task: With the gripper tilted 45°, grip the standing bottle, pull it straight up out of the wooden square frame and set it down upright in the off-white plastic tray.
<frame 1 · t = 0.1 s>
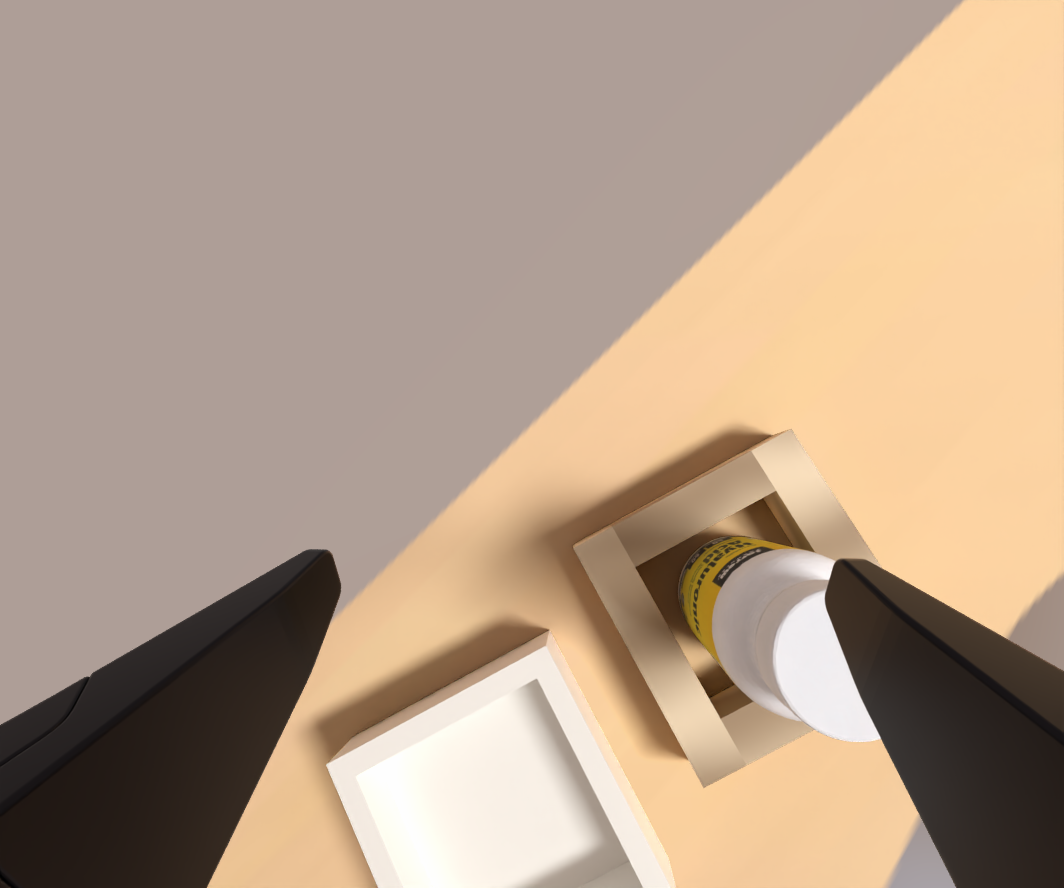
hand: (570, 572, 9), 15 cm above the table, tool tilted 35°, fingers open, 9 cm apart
supplement bottle: (732, 592, 22), resting in wooden square frame
wooden square frame: (733, 593, 22), on the table
plastic tray: (503, 794, 22), on the table
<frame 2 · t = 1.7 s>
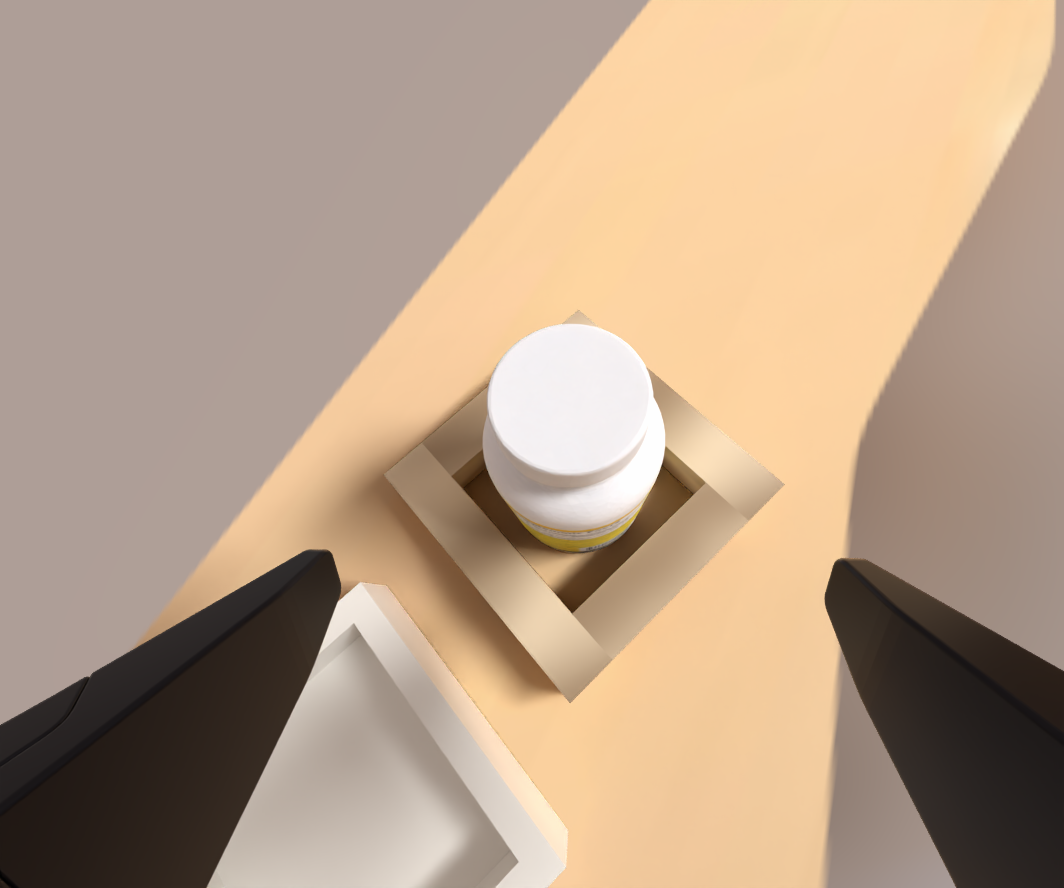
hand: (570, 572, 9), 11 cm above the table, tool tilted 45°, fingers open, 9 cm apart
supplement bottle: (575, 492, 20), resting in wooden square frame
wooden square frame: (575, 491, 20), on the table
plastic tray: (354, 808, 17), on the table
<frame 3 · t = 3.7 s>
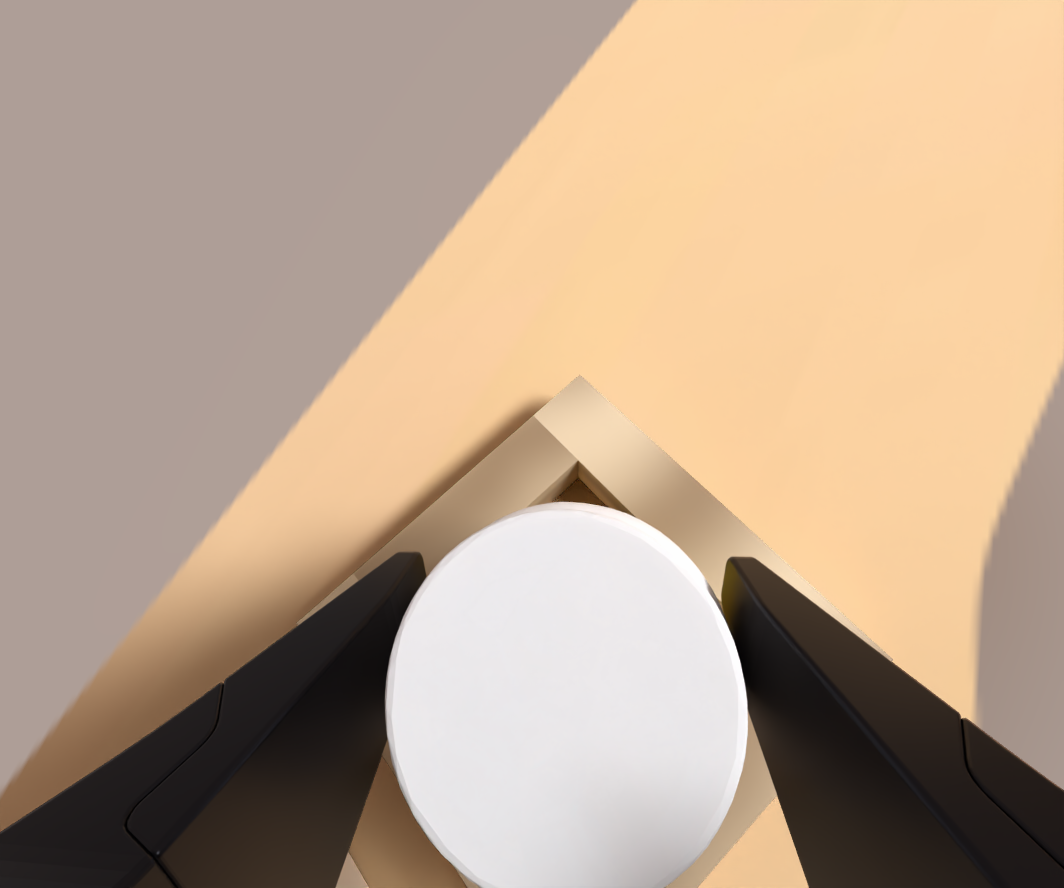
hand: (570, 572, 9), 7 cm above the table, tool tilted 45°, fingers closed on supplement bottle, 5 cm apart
supplement bottle: (575, 635, 14), resting in wooden square frame, touching gripper
wooden square frame: (575, 635, 14), on the table
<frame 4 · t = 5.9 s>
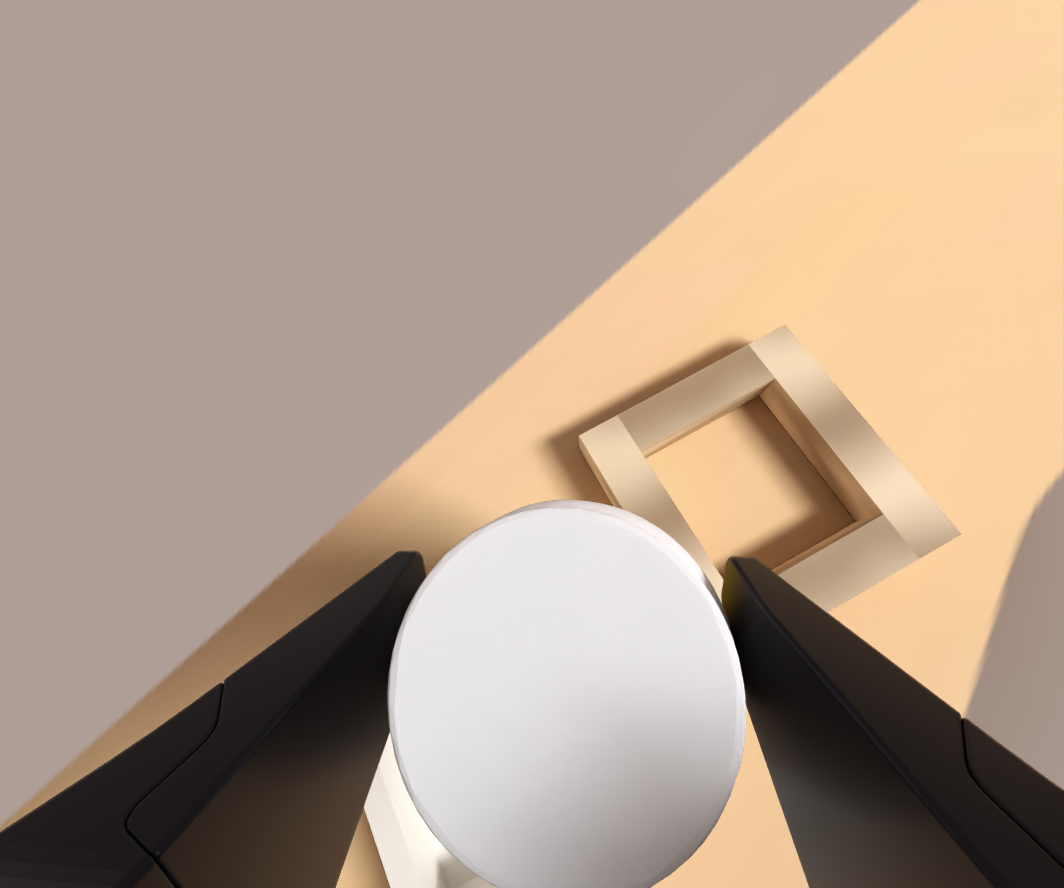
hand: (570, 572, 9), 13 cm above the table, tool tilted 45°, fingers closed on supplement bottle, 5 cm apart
supplement bottle: (577, 632, 15), point 7 cm above the table, touching gripper
wooden square frame: (741, 491, 22), on the table
plastic tray: (503, 708, 20), on the table
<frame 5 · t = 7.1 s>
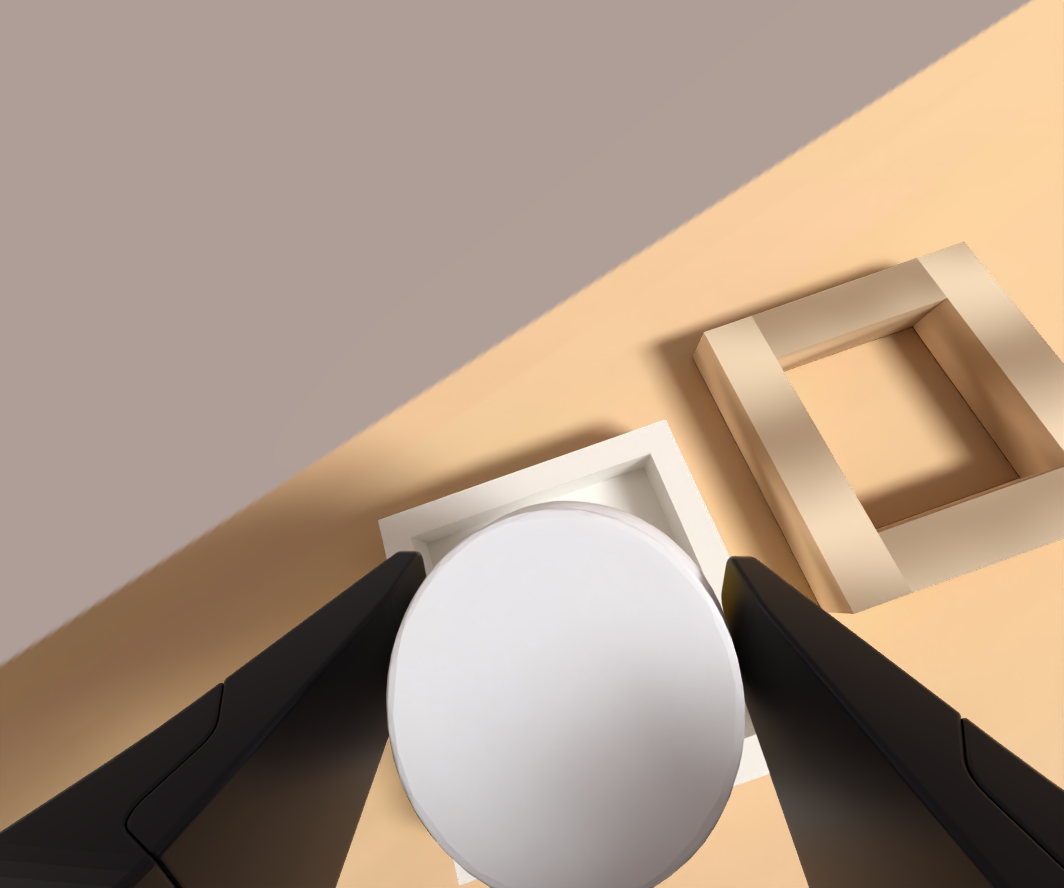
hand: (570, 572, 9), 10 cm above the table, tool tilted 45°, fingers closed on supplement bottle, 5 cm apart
supplement bottle: (576, 633, 15), point 3 cm above the table, touching gripper
wooden square frame: (881, 426, 19), on the table
plastic tray: (575, 620, 18), on the table
when the fingers open (9 cm above the table, at t = 8.2 s): supplement bottle drops 2 cm, resting on plastic tray.
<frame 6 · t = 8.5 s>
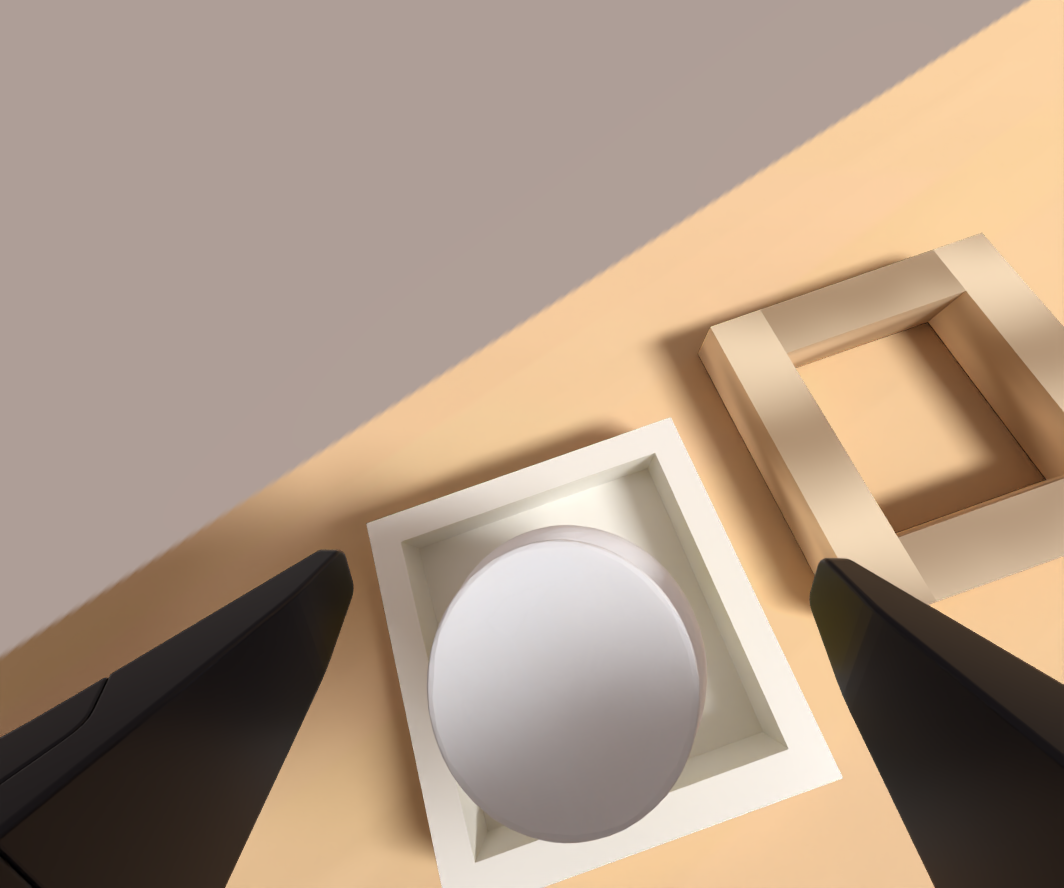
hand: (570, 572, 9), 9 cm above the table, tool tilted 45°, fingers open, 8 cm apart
supplement bottle: (577, 635, 16), resting on plastic tray
wooden square frame: (897, 425, 18), on the table
plastic tray: (575, 630, 17), on the table
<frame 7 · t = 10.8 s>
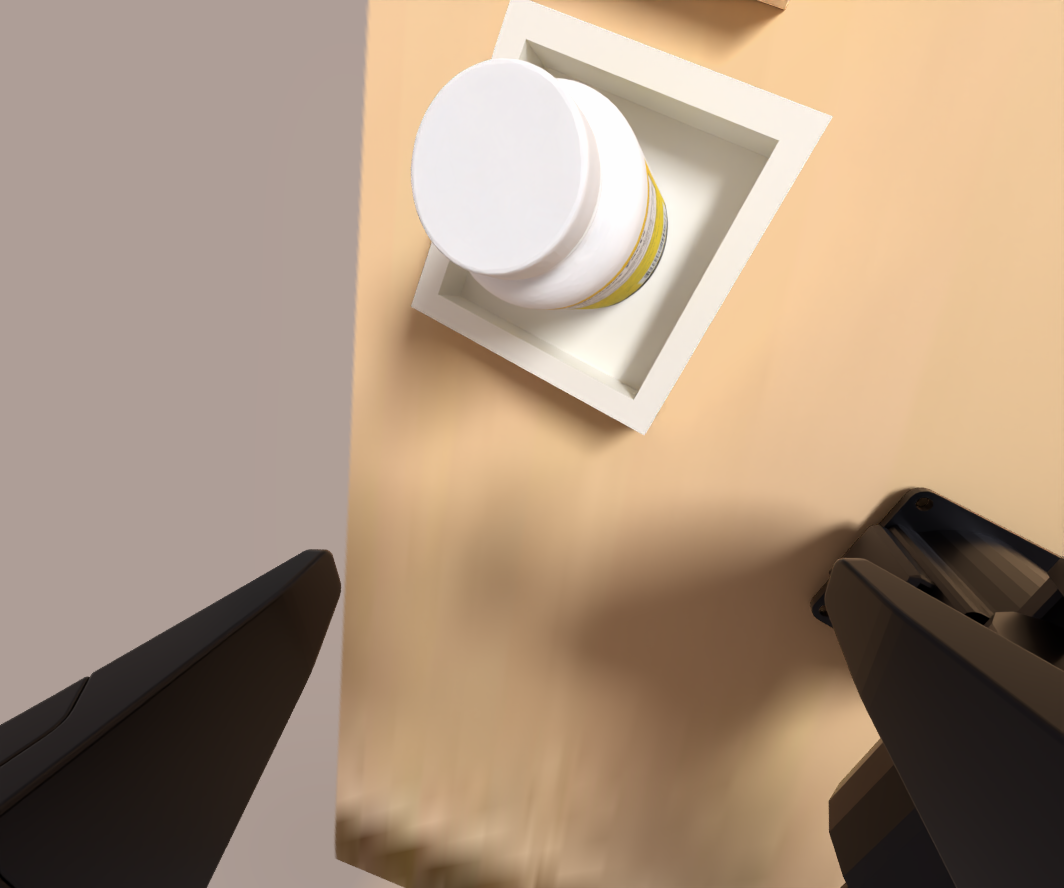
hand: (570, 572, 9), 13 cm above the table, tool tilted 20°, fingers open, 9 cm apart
supplement bottle: (598, 239, 19), resting on plastic tray
plastic tray: (597, 239, 19), on the table
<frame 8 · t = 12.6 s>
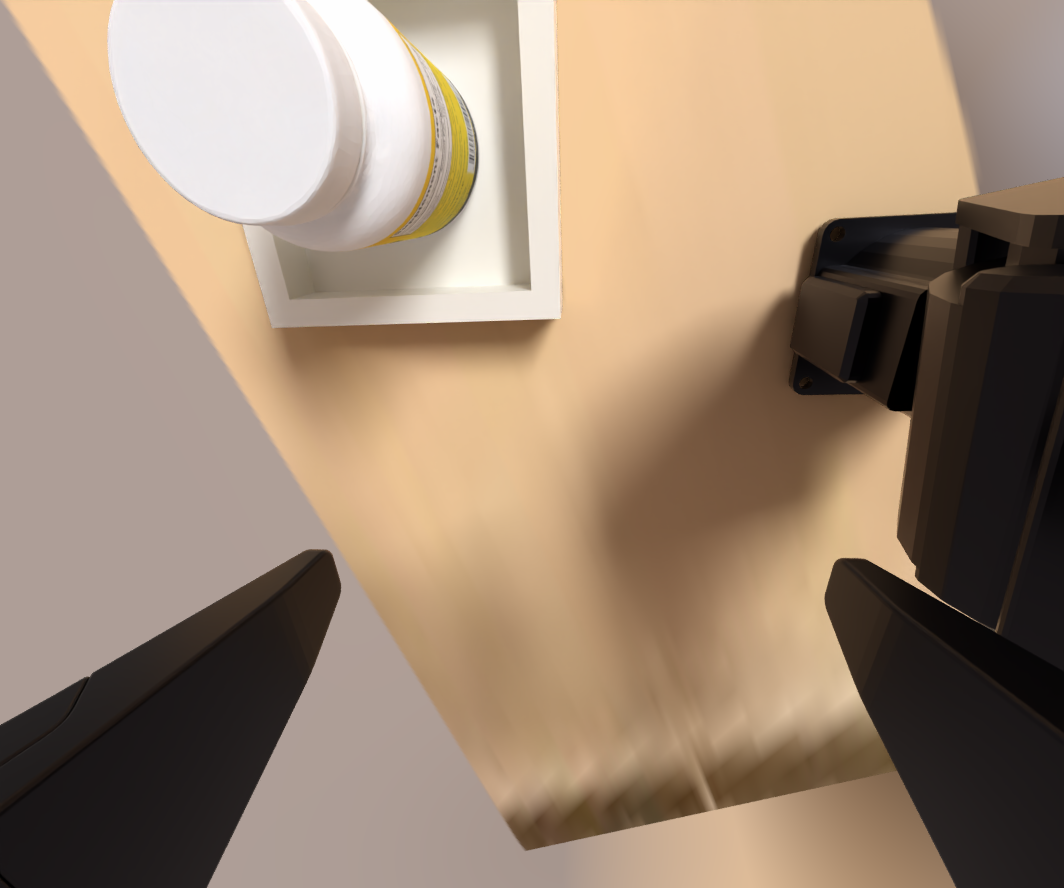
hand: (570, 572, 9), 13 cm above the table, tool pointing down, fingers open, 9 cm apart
supplement bottle: (409, 156, 17), resting on plastic tray
plastic tray: (409, 157, 17), on the table
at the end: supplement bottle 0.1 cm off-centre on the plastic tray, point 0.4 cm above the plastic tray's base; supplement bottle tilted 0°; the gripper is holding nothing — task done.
